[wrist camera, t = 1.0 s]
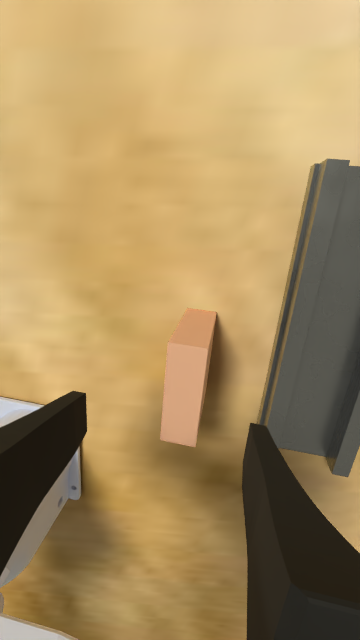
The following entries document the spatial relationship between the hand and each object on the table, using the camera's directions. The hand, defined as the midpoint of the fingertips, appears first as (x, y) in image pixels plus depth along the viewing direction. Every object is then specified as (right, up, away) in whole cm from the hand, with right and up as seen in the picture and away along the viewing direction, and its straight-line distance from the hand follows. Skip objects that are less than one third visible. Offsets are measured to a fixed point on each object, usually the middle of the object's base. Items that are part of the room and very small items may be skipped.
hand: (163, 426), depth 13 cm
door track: (+10, +4, +6) cm, 12 cm away
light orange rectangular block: (+2, +2, +9) cm, 9 cm away
